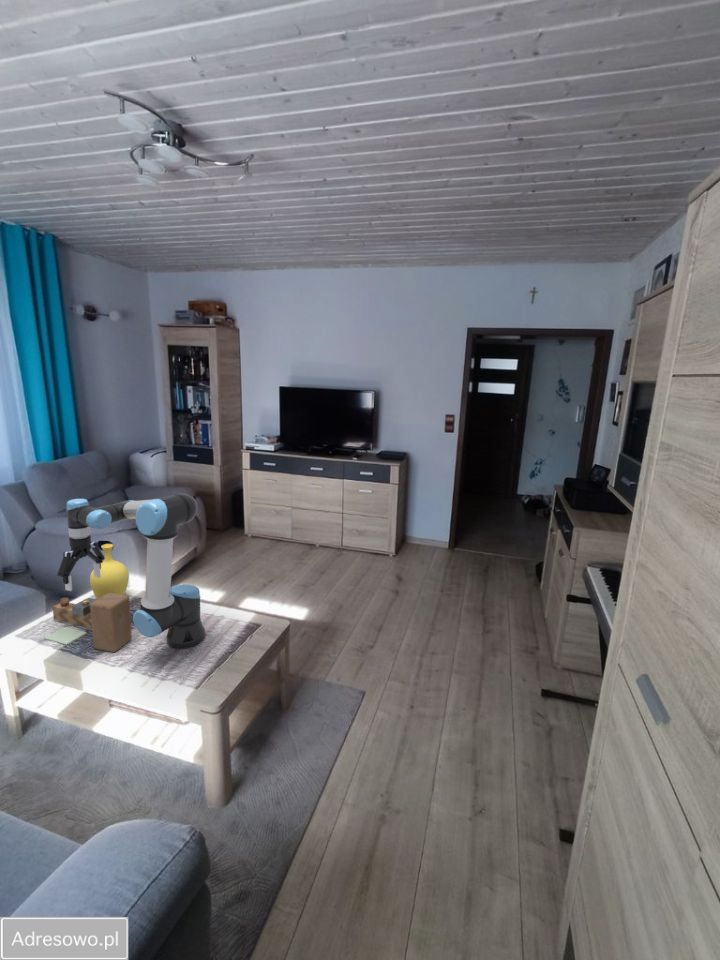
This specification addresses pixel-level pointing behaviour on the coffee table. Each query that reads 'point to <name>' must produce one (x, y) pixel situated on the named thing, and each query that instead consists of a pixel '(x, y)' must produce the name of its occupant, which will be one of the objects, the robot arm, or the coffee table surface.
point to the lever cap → (82, 607)
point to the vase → (109, 576)
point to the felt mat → (65, 635)
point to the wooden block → (111, 622)
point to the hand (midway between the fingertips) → (83, 583)
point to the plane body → (70, 615)
